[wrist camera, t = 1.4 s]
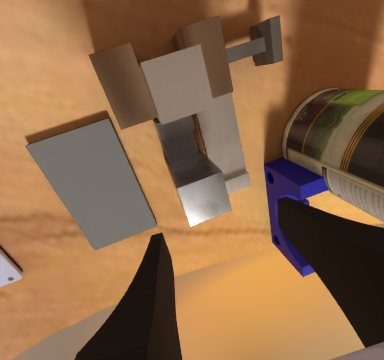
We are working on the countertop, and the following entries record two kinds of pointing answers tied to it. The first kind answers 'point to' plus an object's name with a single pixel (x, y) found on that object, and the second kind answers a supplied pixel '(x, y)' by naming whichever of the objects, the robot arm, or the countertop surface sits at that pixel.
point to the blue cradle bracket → (296, 189)
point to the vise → (184, 38)
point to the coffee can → (342, 144)
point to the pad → (95, 182)
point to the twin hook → (197, 109)
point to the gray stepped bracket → (192, 172)
